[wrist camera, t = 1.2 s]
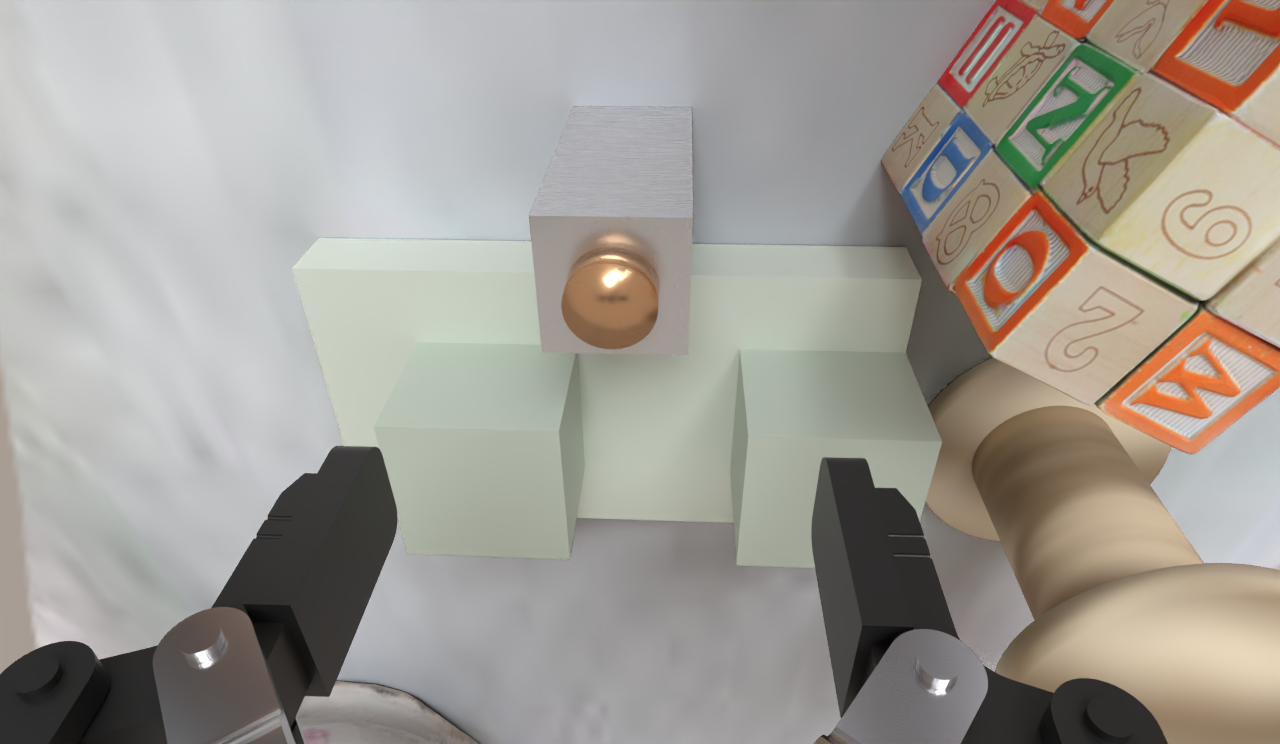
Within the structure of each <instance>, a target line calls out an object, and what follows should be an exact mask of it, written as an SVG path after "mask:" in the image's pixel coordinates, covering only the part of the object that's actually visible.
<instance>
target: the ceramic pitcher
mask: <svg viewBox="0 0 1280 744" xmlns="http://www.w3.org/2000/svg"><path fill="white" fill-rule="evenodd" d="M296 717H297V719H298V721H299V723H300V726H301V729H302V732H303V735H304V738H305V740H306V743H307V744H479V743H477V742H476V741H475V740H473V739H472V738H471V737H469V736H468V735H466V734H465V733H463V732H462V731H460V730H459V729H458V728H456V727H455V726H453V725H452V724H451V723H449V722H448V721H446V720H445V719H444V718H442V717H441V716H439V715H438V714H437V713H435V712H434V711H433V710H431V709H430V708H428V707H427V706H426V705H424V704H423V703H422V702H420V701H419V700H417V699H416V698H414V697H413V696H411V695H409V694H407V693H406V692H403V691H399V690H395V689H391V688H387V687H384V686H380V685H376V684H363V683H351V682H342V681H336V682H335V684H334V687H333V689H332V692H331V694H330V696H329V697H316V696H305V697H304V699H303V701H302V704H301V706H300V708H299V711H298V713H297V715H296Z"/></svg>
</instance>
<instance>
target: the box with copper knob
mask: <svg viewBox="0 0 1280 744" xmlns="http://www.w3.org/2000/svg"><path fill="white" fill-rule="evenodd" d="M529 222H530V233H531V243H532V254H533V264H534V275H535V285H536V296H537V306H538V317H539V327H540V338H541V348H542V352H560V353H605V354H650V355H688V351H689V322H690V292H691V263H692V233H693V173H692V107H598V106H573V108H572V111H571V113H570V116H569V118H568V121H567V123H566V125H565V128H564V130H563V133H562V135H561V138H560V140H559V143H558V145H557V148H556V150H555V152H554V155H553V157H552V160H551V162H550V165H549V167H548V170H547V172H546V175H545V177H544V180H543V182H542V184H541V187H540V189H539V192H538V194H537V197H536V199H535V202H534V204H533V207H532V209H531V212H530V214H529Z"/></svg>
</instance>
